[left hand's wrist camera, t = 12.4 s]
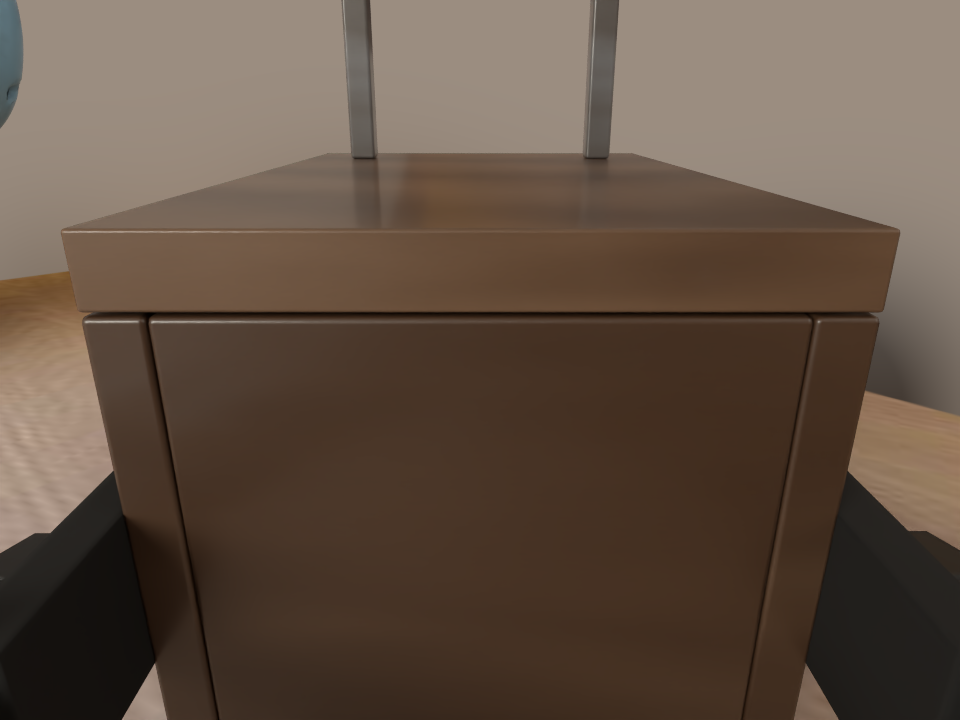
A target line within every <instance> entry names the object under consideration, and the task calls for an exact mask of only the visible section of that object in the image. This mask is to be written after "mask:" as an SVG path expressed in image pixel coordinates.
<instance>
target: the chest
mask: <svg viewBox="0 0 960 720" xmlns="http://www.w3.org/2000/svg"><path fill="white" fill-rule="evenodd" d="M82 325H83V330H84V335H85V339H86V344H87V348H88V353H89V358H90V362H91V367H92V372H93V376H94V381H95V386H96V390H97V395H98V400H99V404H100V409H101V414H102V418H103V423H104V427H105V432H106V437H107V441H108V446H109V451H110V455H111V460H112V465H113V469H114V474H115V479H116V483H117V488H118V493H119V497H120V502H121V506H122V511H123V516H124V520H125V525H126V530H127V534H128V539H129V544H130V548H131V553H132V558H133V562H134V567H135V571H136V576H137V581H138V585H139V590H140V595H141V599H142V604H143V609H144V613H145V618H146V623H147V627H148V632H149V637H150V641H151V646H152V650H153V655H154V660H155V664H156V669H157V674H158V678H159V683H160V688H161V692H162V697H163V702H164V706H165V711H166V716H167V720H794V715H795V711H796V706H797V701H798V697H799V692H800V688H801V683H802V678H803V674H804V669H805V664H806V659H807V655H808V650H809V645H810V641H811V636H812V632H813V627H814V622H815V618H816V613H817V608H818V604H819V599H820V595H821V590H822V585H823V581H824V576H825V571H826V567H827V562H828V558H829V553H830V548H831V544H832V539H833V534H834V530H835V525H836V521H837V516H838V512H839V507H840V503H841V498H842V493H843V489H844V484H845V480H846V475H847V470H848V466H849V461H850V457H851V452H852V447H853V443H854V438H855V433H856V429H857V424H858V420H859V415H860V410H861V406H862V401H863V396H864V392H865V387H866V383H867V378H868V373H869V369H870V364H871V359H872V355H873V350H874V346H875V341H876V336H877V331H878V327H879V319H878V317H876V316H874V315H872V314H870V313H868V312H93V313H91V314H89V315H87V316H85V317H84V318H83V321H82Z"/></svg>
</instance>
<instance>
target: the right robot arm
mask: <svg viewBox="0 0 960 720" xmlns="http://www.w3.org/2000/svg"><path fill="white" fill-rule="evenodd" d="M22 69H23V36H22V28H21V21H20V16H19V10H18V6H17V2H16V0H0V128H1V127H2V126H3V125H4V123H5V122H6V120H7V119H8V117H9V115H10V114H11V112H12V110H13V107H14V105H15V102H16V99H17V95H18V88H19V84H20V81H21V78H22Z"/></svg>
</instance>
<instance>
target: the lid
mask: <svg viewBox="0 0 960 720" xmlns="http://www.w3.org/2000/svg"><path fill="white" fill-rule="evenodd" d="M618 8H619V0H591V3H590V23H589V43H588V63H587V82H586V102H585V121H584V140H583V153H582V154H581V153H559V154H558V153H552V154H551V153H541V154H540V153H378V150H377V130H376V111H375V91H374V71H373V51H372V31H371V11H370V0H342V15H343V30H344V46H345V62H346V78H347V93H348V109H349V124H350V141H351V153H328V154H324V155H321V156H317V157H314V158H310V159H307V160H303V161H300V162H296V163H293V164H289V165H286V166H282V167H278V168H275V169H271V170H268V171H264V172H261V173H257V174H254V175H250V176H247V177H243V178H240V179H236V180H233V181H229V182H226V183H222V184H219V185H215V186H212V187H208V188H204V189H201V190H197V191H194V192H190V193H187V194H183V195H180V196H176V197H173V198H169V199H166V200H162V201H159V202H155V203H152V204H148V205H145V206H141V207H138V208H134V209H131V210H127V211H124V212H120V213H116V214H113V215H109V216H106V217H102V218H99V219H95V220H92V221H88V222H85V223H81V224H78V225H74V226H71V227H67V228H64V229H62V230H61V235H62V240H63V245H64V249H65V254H66V258H67V263H68V268H69V272H70V277H71V282H72V286H73V291H74V296H75V300H76V305H77V309H78V311H79V312H882V311H883V310H884V306H885V301H886V296H887V292H888V287H889V283H890V278H891V273H892V269H893V264H894V259H895V255H896V250H897V246H898V241H899V236H900V230H899V229H897V228H894V227H890V226H886V225H883V224H879V223H876V222H872V221H869V220H865V219H862V218H858V217H855V216H851V215H848V214H844V213H841V212H837V211H833V210H830V209H826V208H823V207H819V206H816V205H812V204H809V203H805V202H802V201H798V200H795V199H791V198H788V197H784V196H781V195H777V194H774V193H770V192H766V191H763V190H759V189H756V188H752V187H749V186H745V185H742V184H738V183H735V182H731V181H728V180H724V179H721V178H717V177H714V176H710V175H707V174H703V173H699V172H696V171H692V170H689V169H685V168H682V167H678V166H675V165H671V164H668V163H664V162H661V161H657V160H654V159H650V158H646V157H643V156H639V155H636V154H632V153H631V154H629V153H628V154H626V153H621V154H620V153H617V154H616V153H614V154H613V153H609V148H610V133H611V117H612V102H613V86H614V70H615V55H616V39H617V23H618Z"/></svg>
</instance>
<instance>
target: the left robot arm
mask: <svg viewBox="0 0 960 720" xmlns="http://www.w3.org/2000/svg"><path fill="white" fill-rule="evenodd" d="M154 664H155V660H154V655H153V650H152V646H151V641H150V637H149V632H148V627H147V623H146V618H145V613H144V609H143V604H142V599H141V595H140V590H139V585H138V581H137V576H136V571H135V567H134V562H133V558H132V553H131V548H130V544H129V539H128V534H127V530H126V525H125V520H124V516H123V511H122V506H121V502H120V497H119V493H118V488H117V483H116V479H115V474H114V471H113V472H112V473H111V474H110V475H109V476H108V477H107V478H106V479H105V480H104V481H103V482H102V483H101V484H100V485H99V486H98V487H97V488H96V489H95V490H94V491H93V492H92V493H91V494H90V495H89V496H88V497H86V498H85V499H84V500H83V501H82V502H81V503H80V504H79V505H78V506H77V507H76V508H75V509H74V510H73V511H72V512H71V513H70V514H69V515H68V516H67V517H66V518H65V519H64V520H63V521H62V522H61V523H60V524H59V525H58V526H57V527H56V528H55V529H54V530H53V531H52V532H51V533H35V534H33V535H31V536H29V537H28V538H26V539H24V540H23V541H21V542H19V543H17V544H16V545H14V546H12V547H10V548H9V549H7V550H5V551H4V552H2V553H0V720H122V718H123V716H124V715H125V713H126V711H127V710H128V708H129V706H130V705H131V703H132V701H133V699H134V698H135V696H136V694H137V693H138V691H139V689H140V687H141V686H142V684H143V682H144V681H145V679H146V677H147V675H148V674H149V672H150V670H151V669H152V667H153V665H154ZM806 664H807V666H808V667H809V669H810V671H811V673H812V674H813V676H814V678H815V679H816V681H817V683H818V684H819V686H820V688H821V690H822V691H823V693H824V695H825V696H826V698H827V700H828V702H829V703H830V705H831V707H832V708H833V710H834V712H835V713H836V715H837V717H838V719H839V720H960V550H958V549H957V548H955V547H953V546H951V545H950V544H948V543H946V542H944V541H943V540H941V539H939V538H937V537H936V536H934V535H932V534H931V533H929V532H927V531H908V530H907V529H906V528H905V527H904V526H903V525H902V524H901V523H900V522H899V521H898V520H897V519H896V518H895V517H894V516H892V515H891V514H890V513H889V512H888V511H887V510H886V509H885V508H884V507H883V506H882V505H881V504H880V503H879V502H878V501H877V500H876V499H875V498H874V497H873V496H872V495H871V494H870V493H869V492H868V491H867V490H866V489H865V488H864V487H863V486H862V485H861V484H860V483H859V482H858V481H857V480H856V479H855V478H854V477H853V476H852V475H851V474H850V473H849V472H848V471H847V475H846V480H845V484H844V489H843V493H842V498H841V503H840V507H839V512H838V516H837V521H836V525H835V530H834V534H833V539H832V544H831V548H830V553H829V558H828V562H827V567H826V571H825V576H824V581H823V585H822V590H821V595H820V599H819V604H818V608H817V613H816V618H815V622H814V627H813V632H812V636H811V641H810V645H809V650H808V655H807V659H806Z"/></svg>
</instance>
